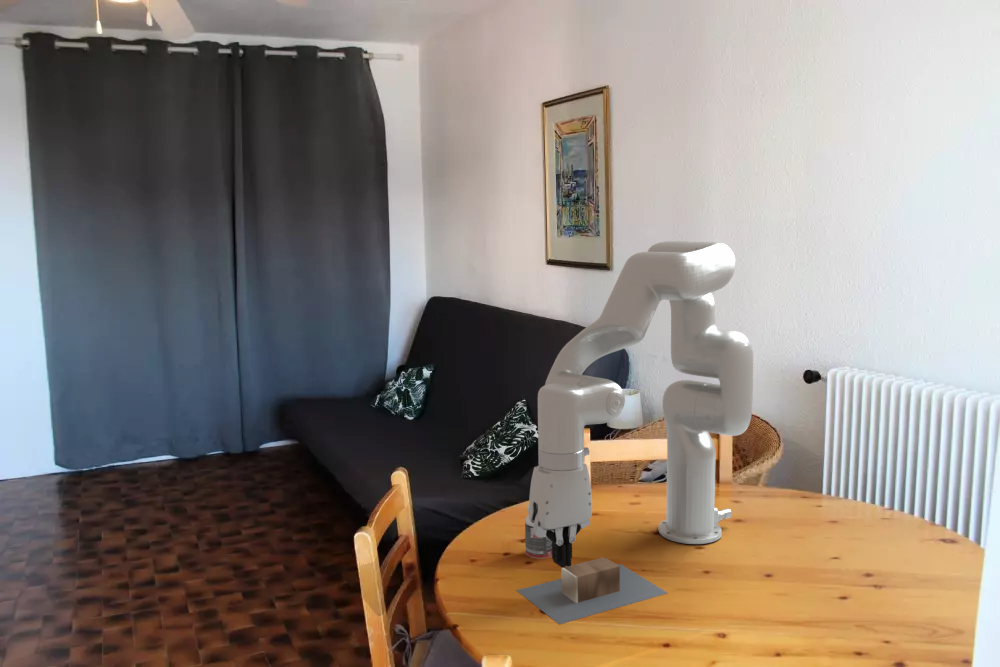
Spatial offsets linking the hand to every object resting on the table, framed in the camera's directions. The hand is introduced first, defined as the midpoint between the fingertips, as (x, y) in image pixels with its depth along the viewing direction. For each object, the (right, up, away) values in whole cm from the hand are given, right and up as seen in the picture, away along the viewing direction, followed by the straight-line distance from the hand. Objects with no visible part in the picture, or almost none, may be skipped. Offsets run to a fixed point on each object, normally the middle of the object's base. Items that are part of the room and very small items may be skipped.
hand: (562, 563), depth 142 cm
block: (+1, -4, +1) cm, 4 cm away
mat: (+5, -6, +4) cm, 9 cm away
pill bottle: (-3, -4, +21) cm, 21 cm away
